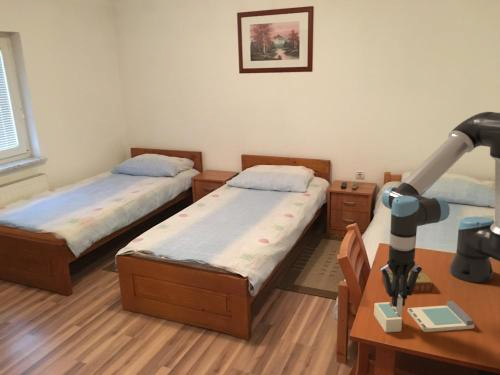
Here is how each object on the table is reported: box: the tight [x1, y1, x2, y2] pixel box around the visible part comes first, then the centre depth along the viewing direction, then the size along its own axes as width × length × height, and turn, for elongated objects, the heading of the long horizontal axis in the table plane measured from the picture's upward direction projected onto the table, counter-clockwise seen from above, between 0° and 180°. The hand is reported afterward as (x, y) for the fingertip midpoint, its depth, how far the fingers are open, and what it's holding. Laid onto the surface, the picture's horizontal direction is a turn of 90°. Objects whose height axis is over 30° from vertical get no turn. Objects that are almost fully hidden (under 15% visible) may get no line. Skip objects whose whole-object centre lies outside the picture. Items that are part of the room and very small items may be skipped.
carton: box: [381, 271, 433, 292], centre depth 161 cm, size 8×16×4 cm, turn 89°
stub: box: [373, 301, 403, 333], centre depth 137 cm, size 5×10×4 cm, turn 5°
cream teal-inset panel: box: [407, 300, 475, 333], centre depth 139 cm, size 16×12×3 cm
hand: (397, 314), depth 137 cm, fingers closed
